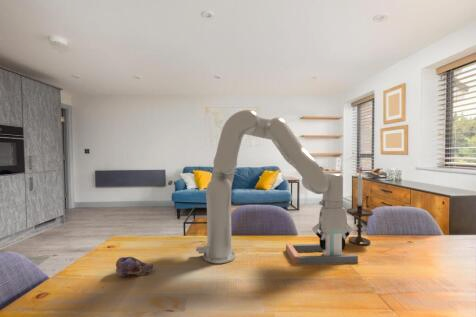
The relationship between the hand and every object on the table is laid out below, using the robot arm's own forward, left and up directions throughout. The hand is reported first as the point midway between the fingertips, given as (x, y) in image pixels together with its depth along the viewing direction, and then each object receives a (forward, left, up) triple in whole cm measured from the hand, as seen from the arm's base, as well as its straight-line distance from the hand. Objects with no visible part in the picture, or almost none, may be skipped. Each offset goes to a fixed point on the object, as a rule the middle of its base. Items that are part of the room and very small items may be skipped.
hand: (332, 248), depth 99 cm
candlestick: (+19, +14, -3) cm, 24 cm away
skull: (-74, -10, -4) cm, 75 cm away
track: (-5, 0, -3) cm, 6 cm away
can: (0, 0, -3) cm, 3 cm away
